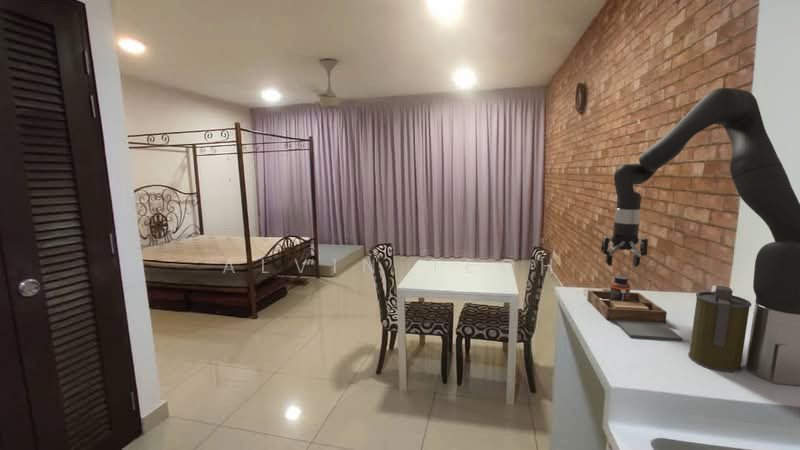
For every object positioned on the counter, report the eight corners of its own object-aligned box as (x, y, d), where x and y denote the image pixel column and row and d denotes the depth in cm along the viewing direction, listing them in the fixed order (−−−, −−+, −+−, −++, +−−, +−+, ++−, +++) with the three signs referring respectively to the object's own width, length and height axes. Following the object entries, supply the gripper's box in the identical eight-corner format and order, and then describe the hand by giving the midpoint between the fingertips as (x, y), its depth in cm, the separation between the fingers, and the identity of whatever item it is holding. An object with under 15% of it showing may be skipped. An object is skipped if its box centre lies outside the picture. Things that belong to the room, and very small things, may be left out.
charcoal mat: (682, 340, 103) (682, 338, 103) (630, 337, 105) (630, 334, 105) (661, 324, 113) (661, 322, 113) (614, 321, 116) (614, 319, 116)
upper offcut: (648, 315, 117) (648, 308, 116) (615, 313, 119) (615, 306, 118) (641, 309, 121) (642, 303, 121) (609, 307, 123) (610, 301, 123)
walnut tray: (665, 323, 114) (666, 312, 114) (607, 320, 117) (608, 308, 117) (637, 302, 132) (638, 292, 132) (587, 300, 135) (588, 290, 134)
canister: (688, 347, 99) (696, 279, 96) (739, 360, 92) (750, 287, 89) (688, 364, 90) (697, 290, 87) (743, 378, 84) (756, 299, 81)
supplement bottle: (627, 311, 124) (630, 280, 123) (607, 307, 128) (610, 277, 126) (628, 306, 129) (631, 276, 127) (610, 302, 133) (612, 273, 131)
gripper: (609, 222, 121) (605, 267, 124) (654, 223, 119) (649, 269, 121) (600, 219, 128) (596, 262, 131) (643, 220, 126) (638, 263, 129)
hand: (622, 265), depth 126 cm, fingers open, 8 cm apart
